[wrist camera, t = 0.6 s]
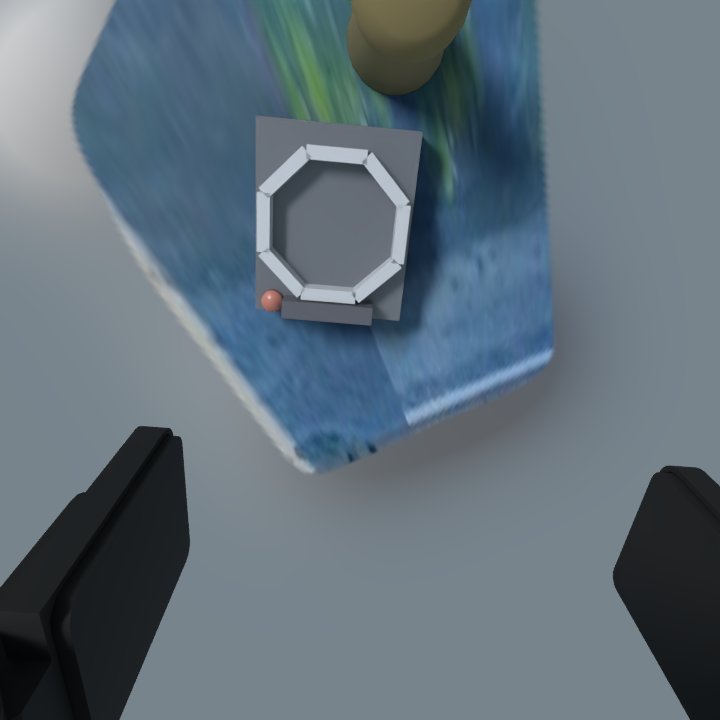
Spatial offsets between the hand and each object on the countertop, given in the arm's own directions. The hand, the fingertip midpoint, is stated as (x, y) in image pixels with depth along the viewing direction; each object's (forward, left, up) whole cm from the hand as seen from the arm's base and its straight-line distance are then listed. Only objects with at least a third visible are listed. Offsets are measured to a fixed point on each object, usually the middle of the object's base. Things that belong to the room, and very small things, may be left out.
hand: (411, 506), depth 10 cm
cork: (-13, 0, -27) cm, 30 cm away
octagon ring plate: (-2, -3, -27) cm, 27 cm away
